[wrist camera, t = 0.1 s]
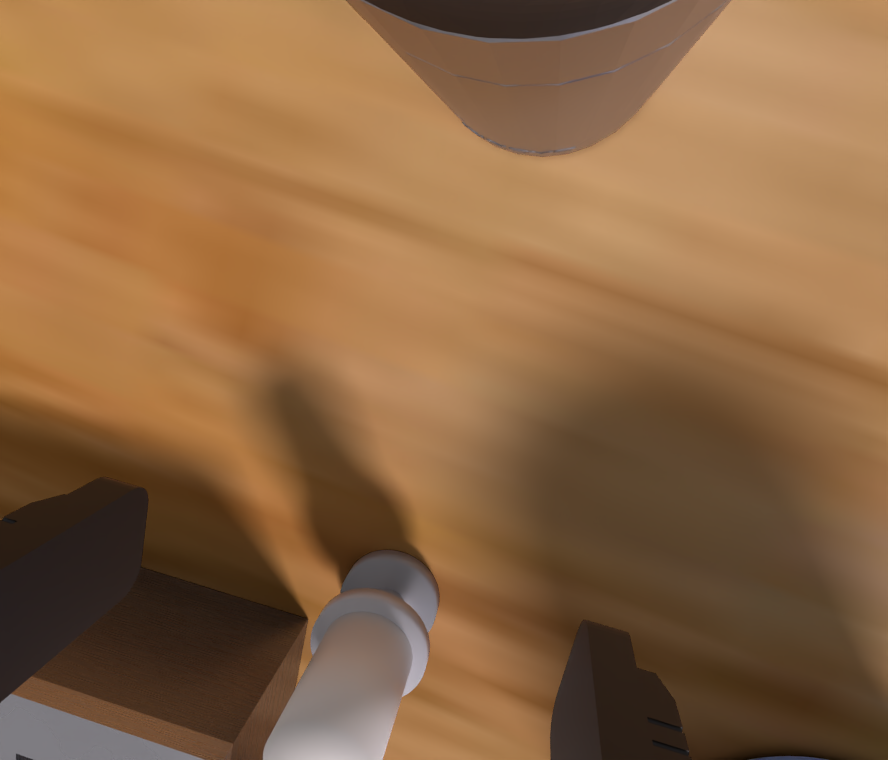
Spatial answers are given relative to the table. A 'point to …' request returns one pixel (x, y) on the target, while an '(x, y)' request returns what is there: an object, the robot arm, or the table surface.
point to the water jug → (788, 758)
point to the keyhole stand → (160, 680)
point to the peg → (360, 662)
